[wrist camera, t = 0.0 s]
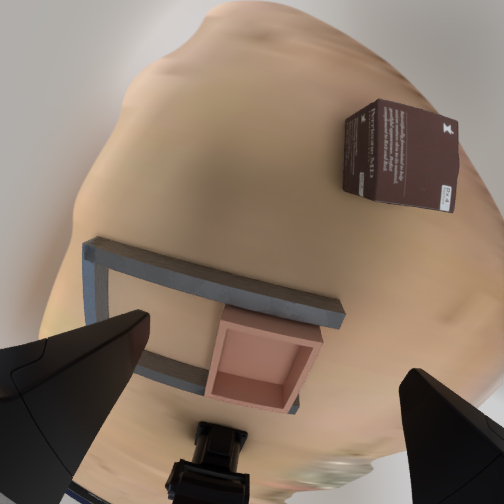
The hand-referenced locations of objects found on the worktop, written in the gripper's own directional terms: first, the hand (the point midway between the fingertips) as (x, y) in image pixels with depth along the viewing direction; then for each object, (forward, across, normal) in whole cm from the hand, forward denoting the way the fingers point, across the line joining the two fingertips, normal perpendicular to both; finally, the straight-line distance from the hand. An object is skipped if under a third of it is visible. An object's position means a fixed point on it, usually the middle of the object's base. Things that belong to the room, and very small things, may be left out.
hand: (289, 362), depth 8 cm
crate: (+14, -1, +10) cm, 18 cm away
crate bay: (+15, +5, +10) cm, 19 cm away
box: (+15, -6, -9) cm, 18 cm away
